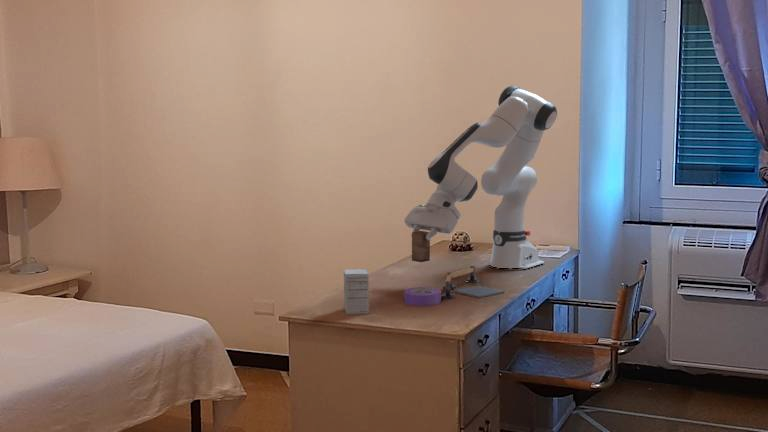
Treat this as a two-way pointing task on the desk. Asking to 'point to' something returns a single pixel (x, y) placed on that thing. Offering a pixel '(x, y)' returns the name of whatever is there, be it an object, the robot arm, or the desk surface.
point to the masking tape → (422, 296)
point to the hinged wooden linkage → (449, 286)
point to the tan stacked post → (420, 247)
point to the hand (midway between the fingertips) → (419, 238)
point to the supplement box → (356, 291)
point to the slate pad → (478, 291)
